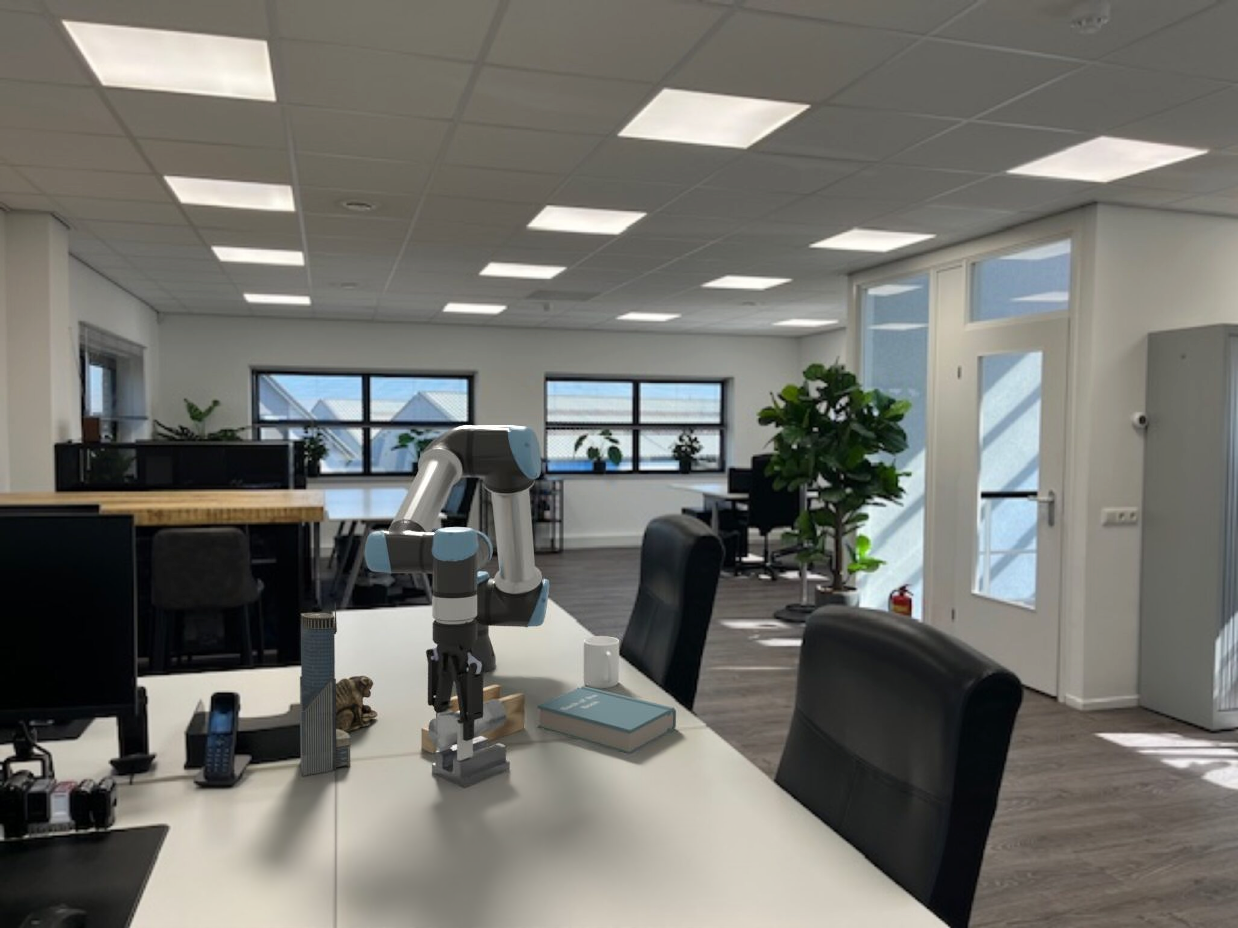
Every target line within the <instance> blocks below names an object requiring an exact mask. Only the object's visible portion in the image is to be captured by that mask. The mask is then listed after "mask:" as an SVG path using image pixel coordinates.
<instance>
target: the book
mask: <svg viewBox="0 0 1238 928" xmlns="http://www.w3.org/2000/svg"><path fill="white" fill-rule="evenodd" d="M536 707H537V709H538V710H539V725H537V728H539V729H541V730H546V731H550V732H553V733H556V734H560V735H563V736H566V737H570V738H573V739H576V740H581V741H584V742H587V743H591V744H594V745H598V746H600V747H601V746H602V747H604V748H608V749H612V750H613V751H619V752H622V753H625V754H628V755H631V754H633V753H634V752H636V751H638V750H640V749H642V748H644V747H646V746H647V745H649V744H651V743H653V742H654V741H657V740H658V739H660V738H661V737H663V736H666V735H667V734H669V733H671V732H673V731H674V730H675V729H676V727H677V725H676V724H677V710H676V709H675V707H673V706H668V705H664V704H660V703H657V702H652V701H647V700H644V699H639V698H634V697H632V696H628V695H627V696H626V695H622V694H619V693H614V692H610V691H606V690H602V689H599V688H592V687H589V686H587V685H586V686H585V685H583V686H581V687H580V688H579V687H578V688H576V689H574V690H571V691H569V692H566V693H562V694H561V695H559V696H556V697H554V698H551V699H549V700H546V701H544V702H541V703H539V704H537V706H536Z"/></svg>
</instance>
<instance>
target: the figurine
mask: <svg viewBox="0 0 1238 928" xmlns="http://www.w3.org/2000/svg"><path fill="white" fill-rule="evenodd" d="M373 686H374V682H373V679H372V678H369V677H368V676H366V675H359V676H357V675H356V676H355V675H353V676H350V677H349V678H344V677H343V678H341V679H340V680H339V681H337V682H336V729H339V730H343V731H345V732H347V731H353V730H358V729H359V728H361V727H366V726H369V725H370V724H371V720H373V719H375V718H377V717H378V715H379V714H378V712H377V711H376V710H374V709H372V708H371V706H370V705H369V704H368V705H366V704H364V698H366V699H367V698H368V699H369V698H370V697H371V694H372V691H371V690H372V688H373Z"/></svg>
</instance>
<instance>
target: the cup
mask: <svg viewBox="0 0 1238 928" xmlns="http://www.w3.org/2000/svg"><path fill="white" fill-rule="evenodd" d="M582 677H583V682H584V686H585V685H586V687H590V688H594V689H609V688H614V687H615V686H616V687H617V685H618V684H619V679H620V678H619V677H620V640H619V638H617V637H612V636H605V635H599V636H598V635H597V636H595V635H594V636H589V637H587V638H585V639H583V676H582Z"/></svg>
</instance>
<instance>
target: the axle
mask: <svg viewBox="0 0 1238 928" xmlns="http://www.w3.org/2000/svg"><path fill="white" fill-rule="evenodd" d="M459 719H461V718H460V711H456V712H453V713H450V714H446V715H443V716H440V717H437V718H436V717H434V718H431V720H430V722H429V723H428V726H429V736H430V739H431V742H432V743H433V745H434V746H435V747H437V748H443V747H446V746H449V745H452V744H455V743H457V720H459ZM505 722H506V711H505V708H504V706H503V704H502V703H501V702H500V701H499V700H497V699H493V700H490V701H487V702H484V703H483V717H482V718H480V719H476V720H475V721H474V736H477V735H480V734H483V733H485V732H488V731H491V730H494V729H497V728H499V727H502V726H503V725H504V724H505Z"/></svg>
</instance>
